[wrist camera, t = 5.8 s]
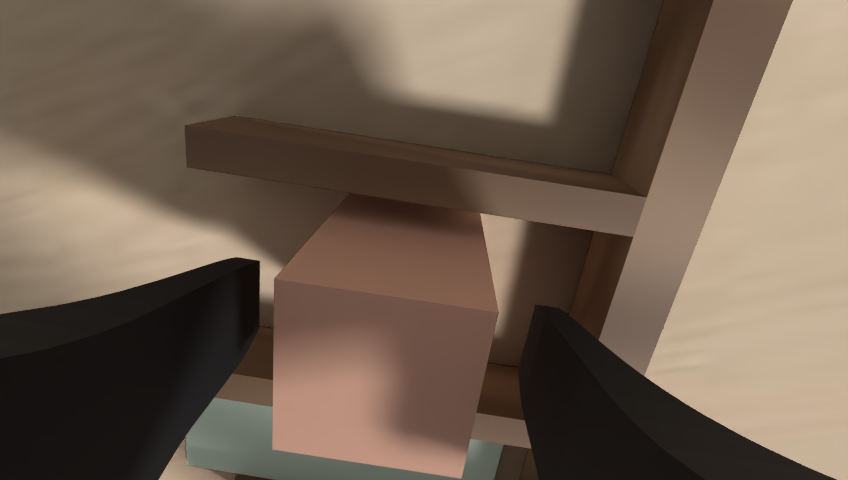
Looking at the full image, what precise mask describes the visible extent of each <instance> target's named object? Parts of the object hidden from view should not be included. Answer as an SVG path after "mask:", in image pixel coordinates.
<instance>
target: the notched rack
mask: <svg viewBox="0 0 848 480" xmlns="http://www.w3.org/2000/svg"><path fill="white" fill-rule="evenodd" d="M792 1H793V0H664V1H663V5H662V8H661V11H660V15H659V18H658V21H657V25H656V28H655V31H654V35H653V38H652V41H651V45H650V48H649V51H648V54H647V58H646V61H645V64H644V68H643V71H642V74H641V78H640V81H639V84H638V88H637V91H636V94H635V98H634V101H633V104H632V107H631V111H630V114H629V117H628V121H627V124H626V127H625V131H624V134H623V137H622V141H621V144H620V147H619V151H618V154H617V157H616V160H615V164H614V167H613V170H612V174H611V175H610V174H604V173H597V172H591V171H584V170H578V169H571V168H565V167H558V166H552V165H546V164H539V163H533V162H526V161H520V160H513V159H507V158H500V157H494V156H488V155H481V154H475V153H468V152H462V151H455V150H449V149H442V148H436V147H430V146H423V145H417V144H410V143H404V142H397V141H391V140H384V139H378V138H371V137H365V136H359V135H352V134H346V133H339V132H333V131H326V130H320V129H313V128H307V127H301V126H294V125H288V124H281V123H275V122H268V121H262V120H255V119H249V118H242V117H236V116H233V117H228V118H223V119H217V120H212V121H207V122H201V123H196V124H191V125H185V138H186V157H187V167H189V168H195V169H202V170H208V171H215V172H221V173H227V174H234V175H240V176H247V177H253V178H259V179H266V180H272V181H278V182H285V183H291V184H298V185H304V186H310V187H317V188H323V189H330V190H336V191H342V192H349V193H355V194H362V195H368V196H374V197H381V198H387V199H394V200H400V201H406V202H413V203H419V204H426V205H432V206H438V207H445V208H451V209H458V210H464V211H470V212H477V213H483V214H490V215H496V216H502V217H509V218H515V219H522V220H528V221H534V222H541V223H547V224H554V225H560V226H566V227H573V228H579V229H586V230H592V231H594V233H593V237H592V240H591V243H590V247H589V250H588V253H587V257H586V260H585V263H584V267H583V270H582V273H581V276H580V280H579V283H578V286H577V290H576V293H575V296H574V300H573V303H572V306H571V310H570V313H569V316H571V317H572V318H573V319H574V320H575V321H577V322H578V323H579V324H580V325H581V326H583V327H584V328H585V329H586V330H587V331H588V332H590V333H591V334H592V335H593V336H594V337H595V338H597V339H598V340H599V341H600V342H601V343H602V344H604V345H605V346H606V347H607V348H608V349H610V350H611V351H612V352H613V353H615V354H616V355H617V356H618V357H620V358H621V359H622V360H623V361H625V362H626V363H627V364H629V365H630V366H631V367H633V368H634V369H635V370H637V371H638V372H639V373H641V374H642V375H643V376H644V375H645V372H646V370H647V367H648V365H649V362H650V360H651V357H652V355H653V352H654V349H655V347H656V344H657V342H658V339H659V337H660V334H661V332H662V329H663V327H664V324H665V322H666V319H667V317H668V314H669V312H670V309H671V307H672V304H673V301H674V299H675V296H676V294H677V291H678V289H679V286H680V284H681V281H682V279H683V276H684V274H685V271H686V269H687V266H688V264H689V261H690V259H691V256H692V254H693V251H694V248H695V246H696V243H697V241H698V238H699V236H700V233H701V231H702V228H703V226H704V223H705V221H706V218H707V216H708V213H709V211H710V208H711V206H712V203H713V200H714V198H715V195H716V193H717V190H718V188H719V185H720V183H721V180H722V178H723V175H724V173H725V170H726V168H727V165H728V163H729V160H730V158H731V155H732V153H733V150H734V147H735V145H736V142H737V140H738V137H739V135H740V132H741V130H742V127H743V125H744V122H745V120H746V117H747V115H748V112H749V110H750V107H751V105H752V102H753V99H754V97H755V94H756V92H757V89H758V87H759V84H760V82H761V79H762V77H763V74H764V72H765V69H766V67H767V64H768V62H769V59H770V57H771V54H772V52H773V49H774V46H775V44H776V41H777V39H778V36H779V34H780V31H781V29H782V26H783V24H784V21H785V19H786V16H787V14H788V11H789V9H790V6H791V4H792ZM273 345H274V329H272V328H266V327H259V330H258V332H257V334H256V336H255V338H254V340H253V342H252V343H251V345H250V347H249V349H248V351H247V352H246V354H245V356H244V358H243V360H242V361H241V362H240V364H239V365H238V367H237V368H236V369H235V371H234V372H233V373H232V375H231V376H230V377H229V379H228V380H227V381H226V383H225V384H224V386H223V387H222V388H221V389H220V391H219V392H218V393H217V395H216V396H215V397H214V399H213V400H212V401H211V403H210V404H209V405H208V407H207V408H206V409H205V411H204V412H203V413H202V415H201V416H200V417H199V419H198V420H197V421H196V423H195V424H194V425H193V427H192V428H191V429H190V431H189V432H188V433H187V435H186V436H185V437H186V451H187V465H188V466H194V467H200V468H206V469H212V470H218V471H225V472H231V473H237V476H236V478H235V480H494V478H495V474H496V471H497V467H498V463H499V460H500V456H501V452H502V449H503V445H504V444H505V445H511V446H517V447H524V448H529V449H528V452H527V455H526V459H525V462H524V465H523V469H522V472H521V475H520V479H519V480H539V478H538V474H537V470H536V465H535V461H534V457H533V453H532V449H531V445H530V440H529V436H528V432H527V428H526V423H525V419H524V415H523V410H522V406H521V397H520V387H519V375H518V369H519V368H516V367H510V366H504V365H497V364H491V363H487V366H486V371H485V375H484V380H483V384H482V389H481V393H480V398H479V402H478V407H477V411H476V416H475V420H474V425H473V429H472V434H471V438H470V443H469V447H468V452H467V456H466V461H465V465H464V470H463V474H462V479H461V478H454V477H448V476H441V475H435V474H428V473H422V472H415V471H409V470H403V469H396V468H390V467H383V466H377V465H370V464H364V463H357V462H351V461H344V460H338V459H331V458H325V457H318V456H312V455H305V454H299V453H292V452H286V451H279V450H273V449H272V437H273Z"/></svg>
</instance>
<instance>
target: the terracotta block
mask: <svg viewBox="0 0 848 480" xmlns="http://www.w3.org/2000/svg"><path fill="white" fill-rule="evenodd" d="M498 313H499V312H498V307H497V301H496V296H495V291H494V285H493V280H492V275H491V270H490V264H489V259H488V254H487V248H486V243H485V238H484V232H483V227H482V222H481V216H480V213H477V212H470V211H464V210H458V209H451V208H445V207H438V206H432V205H425V204H418V203H411V202H405V201H398V200H391V199H384V198H377V197H371V196H364V195H357V194H350V193H349V195H348V196H347V197H346V198H345V199H344V200H343V201H342V203H341V204H340V205H339V206H338V207H337V208H336V209H335V210H334V212H333V213H332V214H331V215H330V216H329V217H328V218H327V220H326V221H325V222H324V223H323V224H322V225H321V226H320V227H319V229H318V230H317V231H316V232H315V233H314V234H313V235H312V237H311V238H310V239H309V240H308V241H307V242H306V243H305V244H304V246H303V247H302V248H301V249H300V250H299V251H298V252H297V254H296V255H295V256H294V257H293V258H292V259H291V260H290V262H289V263H288V264H287V265H286V266H285V267H284V268H283V269H282V271H281V272H280V273H279V274H278V275H277V276H276V277H275V279H274V345H273V437H272V449H273V450H279V451H286V452H292V453H299V454H305V455H312V456H318V457H325V458H331V459H338V460H344V461H351V462H357V463H364V464H370V465H377V466H383V467H390V468H396V469H403V470H409V471H415V472H422V473H428V474H435V475H441V476H448V477H454V478H461V479H462V474H463V470H464V465H465V461H466V456H467V452H468V447H469V443H470V438H471V434H472V429H473V425H474V420H475V416H476V411H477V407H478V402H479V398H480V393H481V389H482V384H483V380H484V375H485V371H486V366H487V362H488V358H489V353H490V349H491V344H492V340H493V335H494V331H495V326H496V322H497V317H498Z"/></svg>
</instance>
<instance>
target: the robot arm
mask: <svg viewBox="0 0 848 480" xmlns="http://www.w3.org/2000/svg"><path fill="white" fill-rule="evenodd" d="M259 292H260V261H257V260H250V259H244V258H238V257H236V258H230V259H226V260H222V261H218V262H215V263H212V264H208V265H205V266H202V267H199V268H196V269H193V270H190V271H187V272H184V273H180V274H177V275H174V276H171V277H168V278H165V279H162V280H158V281H155V282H151V283H148V284H144V285H141V286H137V287H134V288H130V289H127V290H124V291H120V292H116V293H112V294H108V295H104V296H100V297H96V298H91V299H86V300H81V301H77V302H72V303H67V304H62V305H57V306H50V307H44V308H38V309H31V310H25V311H18V312H12V313H5V314H0V480H158V479H159V478H160V476H161V474H162V473H163V471H164V470H165V468H166V466H167V465H168V463H169V461H170V460H171V458H172V456H173V455H174V453H175V451H176V450H177V448H178V447H179V445H180V444H181V442H182V441H183V439H184V438H185V436H186V435H187V433H188V432H189V431H190V429H191V428H192V427H193V425H194V424H195V423H196V421H197V420H198V419H199V417H200V416H201V415H202V413H203V412H204V411H205V409H206V408H207V407H208V405H209V404H210V403H211V401H212V400H213V399H214V397H215V396H216V395H217V393H218V392H219V391H220V389H221V388H222V387H223V386H224V384H225V383H226V381H227V380H228V379H229V377H230V376H231V375H232V373H233V372H234V371H235V369H236V368H237V367H238V365H239V364H240V362H241V361H242V360H243V358H244V356H245V354H246V352H247V351H248V349H249V347H250V345H251V343H252V342H253V340H254V338H255V336H256V334H257V332H258V330H259ZM518 375H519V387H520V397H521V406H522V410H523V415H524V419H525V423H526V428H527V432H528V436H529V440H530V445H531V449H532V453H533V457H534V461H535V465H536V470H537V474H538V478H539V480H836V479H834V478H831V477H829V476H827V475H824V474H822V473H819V472H817V471H814V470H812V469H810V468H808V467H805V466H803V465H801V464H799V463H797V462H795V461H793V460H790V459H788V458H786V457H784V456H782V455H780V454H778V453H776V452H773V451H771V450H769V449H767V448H765V447H763V446H761V445H759V444H757V443H755V442H753V441H751V440H749V439H747V438H745V437H743V436H741V435H739V434H737V433H736V432H734V431H732V430H730V429H728V428H726V427H725V426H723V425H721V424H719V423H717V422H716V421H714V420H712V419H710V418H708V417H707V416H705V415H703V414H701V413H700V412H698V411H696V410H695V409H693V408H691V407H690V406H688V405H686V404H685V403H683V402H682V401H680V400H679V399H677V398H676V397H674V396H672V395H671V394H669V393H668V392H666V391H665V390H663V389H662V388H660V387H659V386H657V385H656V384H654V383H653V382H651V381H650V380H649V379H647V378H646V377H645V376H643V375H642V374H641V373H639V372H638V371H637V370H635V369H634V368H633V367H631V366H630V365H629V364H627V363H626V362H625V361H623V360H622V359H621V358H620V357H618V356H617V355H616V354H615V353H613V352H612V351H611V350H610V349H608V348H607V347H606V346H605V345H604V344H602V343H601V342H600V341H599V340H598V339H597V338H595V337H594V336H593V335H592V334H591V333H590V332H588V331H587V330H586V329H585V328H584V327H583V326H581V325H580V324H579V323H578V322H577V321H575V320H574V319H573V318H572V317H571V316H569V315H568V314H567V313H565V312H564V311H563V310H561V309H559V308H554V307H548V306H541V305H535V309H534V313H533V316H532V320H531V324H530V327H529V331H528V335H527V339H526V342H525V346H524V350H523V354H522V357H521V361H520V365H519V369H518Z"/></svg>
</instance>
